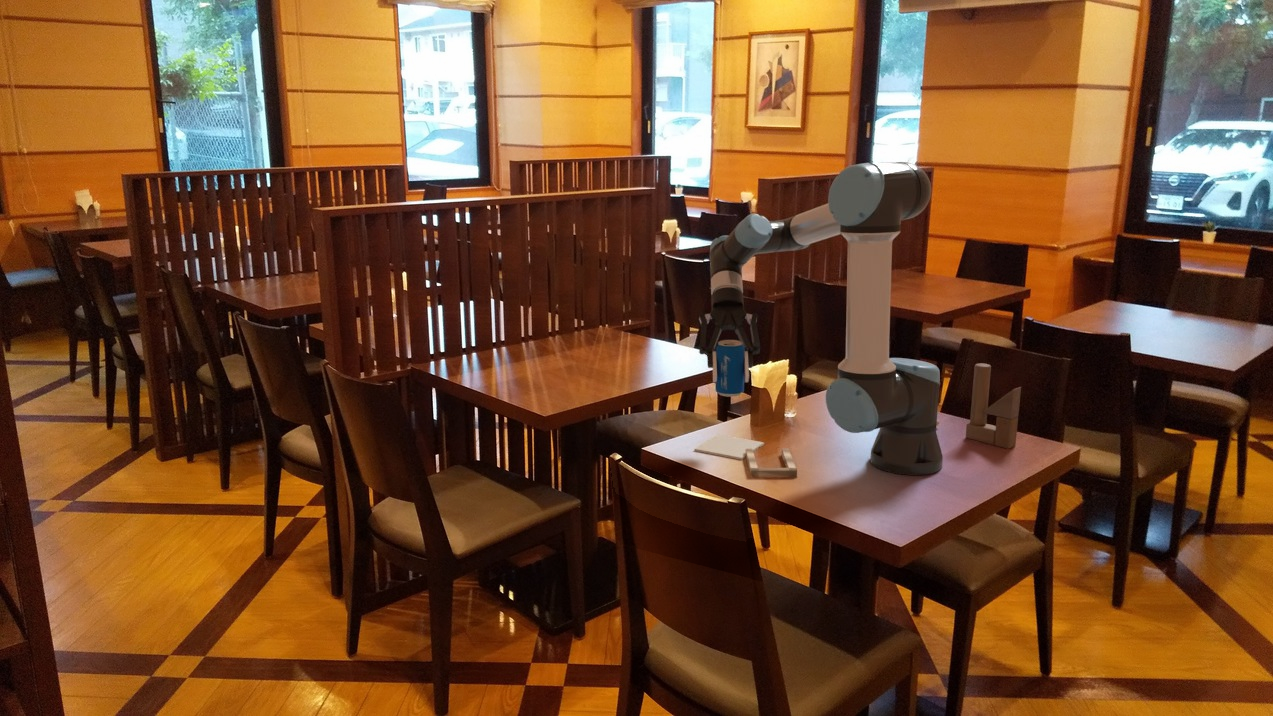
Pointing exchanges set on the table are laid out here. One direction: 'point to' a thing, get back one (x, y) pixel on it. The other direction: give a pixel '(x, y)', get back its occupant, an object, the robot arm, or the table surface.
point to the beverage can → (730, 368)
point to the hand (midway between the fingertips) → (731, 379)
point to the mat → (728, 446)
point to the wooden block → (992, 412)
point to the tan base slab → (772, 472)
